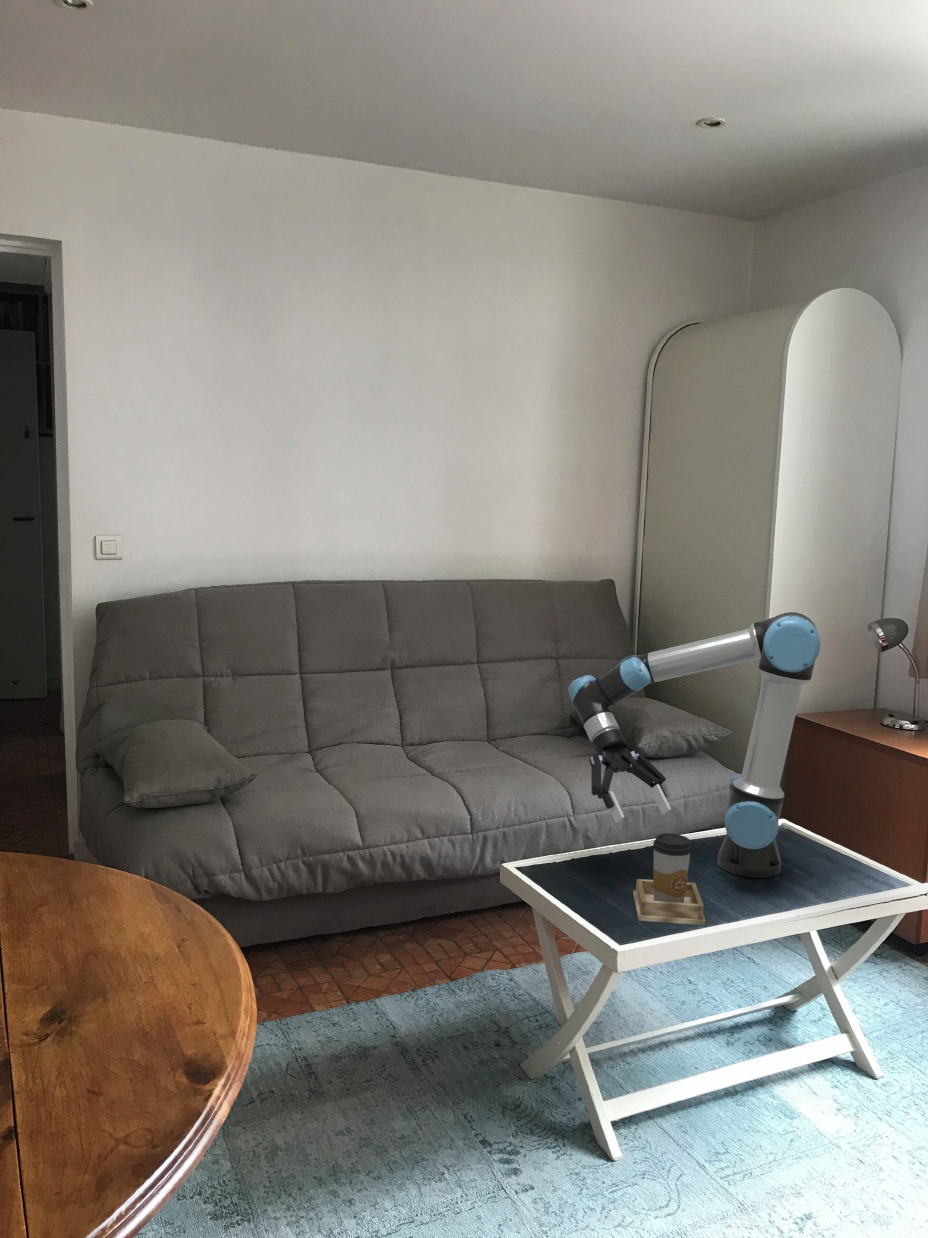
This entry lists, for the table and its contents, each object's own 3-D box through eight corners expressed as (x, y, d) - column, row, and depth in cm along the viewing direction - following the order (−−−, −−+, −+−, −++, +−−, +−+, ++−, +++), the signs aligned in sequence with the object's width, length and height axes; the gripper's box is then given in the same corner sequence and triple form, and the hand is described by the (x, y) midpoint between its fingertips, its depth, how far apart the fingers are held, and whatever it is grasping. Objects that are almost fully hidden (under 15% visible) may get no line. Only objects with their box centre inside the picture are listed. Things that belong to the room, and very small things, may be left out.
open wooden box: (695, 899, 224) (697, 882, 224) (705, 925, 210) (706, 907, 210) (633, 895, 225) (634, 878, 225) (638, 920, 212) (639, 902, 211)
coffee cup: (663, 915, 212) (667, 847, 211) (641, 900, 220) (645, 834, 218) (695, 910, 216) (700, 843, 214) (673, 895, 223) (677, 831, 222)
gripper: (638, 739, 244) (676, 816, 233) (555, 749, 231) (591, 831, 220) (654, 723, 239) (694, 801, 228) (570, 732, 226) (608, 815, 215)
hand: (644, 816), depth 224 cm, fingers open, 13 cm apart
